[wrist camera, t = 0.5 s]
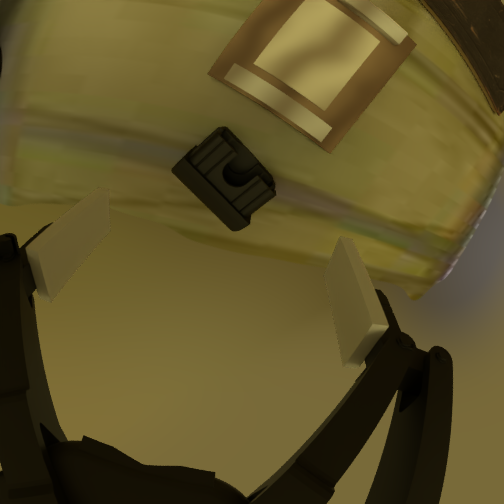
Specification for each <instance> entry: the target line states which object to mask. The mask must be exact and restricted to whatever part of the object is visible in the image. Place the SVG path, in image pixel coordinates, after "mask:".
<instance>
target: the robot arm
mask: <svg viewBox="0 0 504 504" xmlns="http://www.w3.org/2000/svg"><path fill="white" fill-rule="evenodd" d="M0 72H1V49H0ZM109 211H110V210H109V189H105V188H97V189H96V190H94V191H93V192H91V193H90V194H89V195H87V196H86V197H85V198H84V199H82V200H81V201H80V202H78V203H77V204H76V205H75V206H73V207H72V208H71V209H70V210H68V211H67V212H66V213H65V214H63V215H62V216H61V217H60V218H59V219H57V220H56V221H55V222H54V223H50V224H48V225H46V226H44V227H43V228H42V229H41V230H39V231H38V233H36V234H35V235H34V236H33V237H32V238H30V239H29V240H28V241H27V242H26V243H25V244H24V245H23V246H22V247H21V248H19V246H18V242H17V237H16V235H15V234H12V233H6V234H3V235H0V463H1V466H2V471H0V504H327V502H328V501H329V500H330V499H331V497H332V496H333V494H334V492H335V490H334V487H335V485H336V483H337V482H338V481H339V479H340V478H341V477H342V476H343V474H344V473H345V472H346V470H347V469H348V467H349V466H350V465H351V463H352V462H353V461H354V459H355V458H356V456H357V455H358V454H359V452H360V451H361V449H362V448H363V446H364V445H365V443H366V441H367V440H368V439H369V437H370V435H371V434H372V432H373V431H374V429H375V428H376V426H377V424H378V423H379V421H380V419H381V418H382V416H383V414H384V413H385V411H386V409H387V407H388V405H389V404H390V402H391V400H392V398H393V396H394V395H395V393H396V391H397V390H398V393H397V398H396V403H395V408H394V412H393V416H392V420H391V424H390V428H389V432H388V436H387V439H386V443H385V446H384V450H383V453H382V456H381V460H380V463H379V466H378V469H377V472H376V475H375V478H374V481H373V483H372V486H371V489H370V492H369V494H368V497H367V499H366V502H365V504H439V501H440V497H441V492H442V487H443V482H444V476H445V471H446V465H447V458H448V451H449V443H450V434H451V422H452V403H453V364H452V363H453V362H452V358H451V356H450V354H449V353H448V351H447V350H445V349H444V348H442V347H439V346H434V347H432V348H431V349H430V350H429V352H426V351H423V350H420V349H418V348H416V345H415V342H414V341H413V339H412V338H411V337H410V336H409V335H407V334H405V333H404V332H401V330H400V328H399V325H398V323H397V320H396V318H395V316H394V313H392V308H391V307H390V304H389V302H388V299H387V297H386V296H385V295H384V294H383V293H382V291H381V290H377V289H374V287H373V285H372V282H371V280H370V277H369V275H368V273H367V271H366V268H365V266H364V264H363V262H362V259H361V257H360V255H359V253H358V251H357V248H356V246H355V244H354V242H353V240H352V239H350V238H346V237H342V236H340V237H339V240H338V242H337V245H336V247H335V249H334V252H333V254H332V257H331V259H330V262H329V264H328V266H327V269H326V271H325V274H324V279H325V283H326V288H327V292H328V297H329V301H330V306H331V310H332V315H333V320H334V324H335V329H336V333H337V339H338V344H339V349H340V354H341V359H342V365H343V367H347V368H359V367H360V365H361V364H362V363H363V361H364V360H365V363H366V368H365V370H364V371H363V372H362V373H361V375H360V376H359V377H358V378H357V379H356V382H355V383H354V385H353V386H352V387H351V388H350V390H349V391H348V392H347V394H346V395H345V396H344V398H343V399H342V400H341V401H340V403H339V404H338V405H337V406H336V408H335V409H334V410H333V411H332V412H331V414H330V415H329V416H328V417H327V418H326V420H325V421H324V422H323V423H322V424H321V425H320V427H319V428H318V429H317V430H316V431H315V432H314V433H313V435H312V436H311V437H310V438H309V439H308V440H307V441H306V442H305V443H304V444H303V445H302V446H301V448H300V449H299V450H298V451H297V452H296V453H295V454H294V455H293V456H292V457H291V458H290V459H289V460H288V461H287V462H286V463H285V464H284V465H283V466H282V467H281V468H280V469H279V470H278V471H277V472H276V473H275V474H274V475H272V476H271V477H270V479H268V480H267V481H266V482H264V483H263V484H262V485H261V486H259V487H258V488H257V489H256V490H255V491H254V492H252V493H251V494H250V495H249V496H248V497H245V496H244V495H243V494H242V493H241V492H240V491H238V490H237V489H236V488H234V487H233V486H231V485H230V484H228V483H226V482H224V481H222V480H220V479H217V478H215V472H211V471H205V470H199V469H194V468H189V467H183V466H153V465H143V464H141V463H140V462H138V461H136V460H134V459H132V458H131V457H129V456H127V455H126V454H124V453H122V452H121V451H119V450H118V449H116V448H114V447H113V446H110V445H107V444H104V443H102V442H99V441H97V440H94V439H92V438H89V437H87V436H83V438H82V441H68V440H67V438H66V436H65V434H64V432H63V431H62V429H61V427H60V425H59V422H58V419H57V416H56V413H55V409H54V406H53V402H52V399H51V395H50V391H49V388H48V383H47V379H46V374H45V370H44V365H43V360H42V355H41V350H40V344H39V337H38V330H37V324H36V323H37V322H36V314H35V304H34V297H33V295H32V293H33V292H34V291H35V289H37V292H38V295H39V298H40V299H43V300H46V301H48V302H52V301H53V300H54V298H55V297H56V296H57V294H58V293H59V292H60V290H61V289H62V288H63V287H64V285H65V284H66V283H67V282H68V280H69V279H70V278H71V277H72V275H73V274H74V273H75V272H76V270H77V269H78V268H79V267H80V266H81V264H82V263H83V262H84V261H85V260H86V258H87V257H88V256H89V255H90V254H91V252H92V251H93V250H94V249H95V248H96V247H97V245H98V244H99V243H100V242H101V241H102V240H103V239H104V238H105V237H106V236H107V234H108V233H109V232H110V212H109Z"/></svg>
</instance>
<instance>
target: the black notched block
mask: <svg viewBox="0 0 504 504" xmlns="http://www.w3.org/2000/svg"><path fill="white" fill-rule="evenodd" d="M171 171H172V173H173V174H174V175H175V176H176V177H177V178H178V179H179V180H180V181H181V182H182V183H183V184H184V185H185V186H186V187H187V188H188V189H190V190H191V191H192V192H193V193H194V194H195V195H196V196H197V197H198V198H199V199H200V200H201V201H202V202H203V203H204V204H205V205H206V206H207V207H208V208H209V209H210V210H211V211H212V212H213V213H214V214H215V215H216V216H217V217H218V218H219V219H220V220H221V221H222V222H223V223H224V224H225V225H226V226H227V227H228V228H229V229H230V230H231V231H239V230H241V229H243V228H245V227H247V226H248V225H249V224H250V220H251V214H252V213H254V212H255V211H256V210H258V209H259V208H260V207H261V206H263V205H264V204H265V203H267V202H268V201H269V200H271V199H272V198H273V197H274V196H276V191H275V182H274V181H273V177H272V175H271V174H270V173H269V172H268V171H267V170H266V169H265V168H264V166H263V165H262V164H261V163H260V162H259V161H258V160H257V159H256V158H255V156H254V155H253V154H252V153H251V152H250V151H249V150H248V149H247V148H246V147H245V146H244V145H243V144H242V142H241V141H240V140H239V139H238V138H237V137H236V136H235V135H234V134H233V133H232V132H231V131H230V130H229V129H228V128H227V127H218V128H217V129H216V130H215V131H214V132H213V133H212V134H211V135H209V136H208V137H207V138H206V139H205V140H204V141H203V142H202V143H201V144H200V145H199V146H197V145H196V146H195V147H194V148H193V149H191V150H190V151H189V152H188V153H187V154H186V155H185V156H184V157H183V158H182V159H181V160H180V161H179V162H178V163H177V164H176V165H175V166H174V167H173V168H172V170H171Z"/></svg>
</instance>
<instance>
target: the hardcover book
mask: <svg viewBox="0 0 504 504" xmlns="http://www.w3.org/2000/svg"><path fill="white" fill-rule="evenodd" d="M420 1H421V3H422V4H423V5H424V6H425V7H426V8H427V10H428V11H429V12H430V13H431V14H432V16H433V17H434V18H435V19H436V21H437V22H438V23H439V24H440V26H441V27H442V28H443V30H444V31H445V32H446V34H447V35H448V36H449V38H450V39H451V40H452V42H453V43H454V45H455V46H456V48H457V49H458V51H459V52H460V54H461V55H462V57H463V58H464V60H465V61H466V63H467V64H468V66H469V68H470V69H471V71H472V73H473V74H474V76H475V78H476V80H477V81H478V83H479V85H480V87H481V89H482V90H483V92H484V94H485V96H486V98H487V100H488V102H489V104H490V106H491V108H492V110H493V111H494V112H497V114H498V115H500V114H501V113H502V112H503V111H504V5H503V4H502V2H501V0H420Z"/></svg>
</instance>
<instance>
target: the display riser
mask: <svg viewBox="0 0 504 504" xmlns="http://www.w3.org/2000/svg"><path fill="white" fill-rule="evenodd" d="M407 34H408V33H407V32H406V31H405V30H404V29H402V28H401V27H400V26H399V25H398V24H397V23H396V22H395V21H394V20H392V19H391V18H390V17H389V16H388V15H386V14H385V13H384V12H383V11H382V10H380V9H379V8H378V7H377V6H375V5H374V4H373V3H372V2H370V1H369V0H263V1H262V2H261V3H260V4H259V5H258V7H257V8H256V9H255V10H254V11H253V13H252V14H251V15H250V16H249V18H248V19H247V20H246V21H245V23H244V24H243V25H242V26H241V28H240V29H239V30H238V32H237V33H236V34H235V36H234V37H233V38H232V40H231V41H230V42H229V44H228V45H227V46H226V48H225V49H224V51H223V52H222V53H221V55H220V56H219V58H218V59H217V60H216V62H215V63H214V65H213V66H212V68H211V69H210V71H209V72H208V75H210V76H212V77H214V78H215V79H217V80H219V81H221V82H223V83H224V84H226V85H228V86H230V87H231V88H233V89H235V90H237V91H238V92H240V93H242V94H243V95H245V96H247V97H248V98H250V99H251V100H253V101H255V102H256V103H258V104H259V105H261V106H263V107H264V108H266V109H267V110H269V111H270V112H272V113H273V114H275V115H277V116H278V117H280V118H281V119H282V120H284V121H285V122H287V123H288V124H290V125H291V126H293V127H294V128H296V129H297V130H298V131H300V132H301V133H303V134H304V135H305V136H307V137H308V138H310V139H311V140H312V141H314V142H315V143H316V144H318V145H319V146H320V147H322V148H323V149H324V150H326V151H327V152H328V153H331V152H332V150H333V149H334V148H335V147H336V145H337V144H338V143H339V142H340V140H341V139H342V138H343V137H344V135H345V134H346V133H347V132H348V130H349V129H350V128H351V127H352V125H353V124H354V123H355V122H356V120H357V119H358V118H359V117H360V115H361V114H362V113H363V112H364V110H365V109H366V108H367V107H368V105H369V104H370V103H371V102H372V100H373V99H374V98H375V97H376V95H377V94H378V93H379V92H380V90H381V89H382V88H383V87H384V85H385V84H386V83H387V81H388V80H389V79H390V78H391V76H392V75H393V74H394V73H395V71H396V70H397V69H398V68H399V66H400V65H401V64H402V63H403V61H404V60H405V59H406V58H407V56H408V55H409V54H410V53H411V51H412V50H413V49H414V48H415V46H416V45H417V44H416V43H415V42H414V41H413V40H412V39H411V38H410V37H408V36H407Z"/></svg>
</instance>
